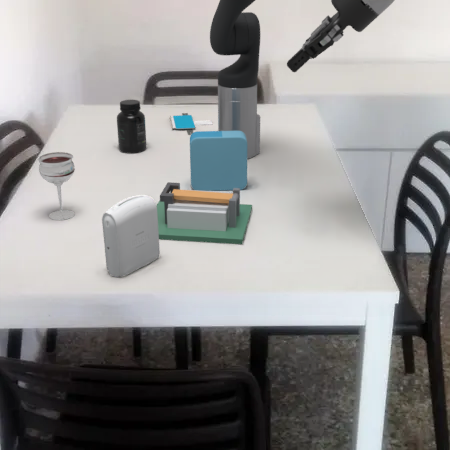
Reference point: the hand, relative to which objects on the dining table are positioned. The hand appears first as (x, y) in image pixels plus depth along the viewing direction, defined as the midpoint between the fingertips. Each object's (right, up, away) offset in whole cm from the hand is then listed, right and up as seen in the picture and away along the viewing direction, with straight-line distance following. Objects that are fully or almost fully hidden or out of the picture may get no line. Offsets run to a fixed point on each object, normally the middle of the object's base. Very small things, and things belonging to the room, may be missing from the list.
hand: (290, 68), depth 128 cm
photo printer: (-27, -35, -3) cm, 44 cm away
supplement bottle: (-34, -9, +53) cm, 64 cm away
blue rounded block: (-13, -20, +30) cm, 38 cm away
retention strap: (-10, -23, +9) cm, 26 cm away
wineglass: (-44, -26, +17) cm, 53 cm away
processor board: (-17, -27, +12) cm, 34 cm away
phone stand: (-21, 0, +72) cm, 75 cm away
